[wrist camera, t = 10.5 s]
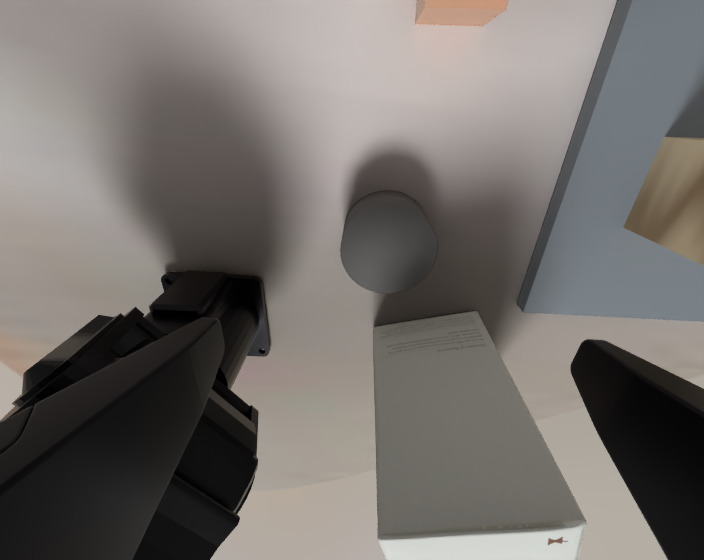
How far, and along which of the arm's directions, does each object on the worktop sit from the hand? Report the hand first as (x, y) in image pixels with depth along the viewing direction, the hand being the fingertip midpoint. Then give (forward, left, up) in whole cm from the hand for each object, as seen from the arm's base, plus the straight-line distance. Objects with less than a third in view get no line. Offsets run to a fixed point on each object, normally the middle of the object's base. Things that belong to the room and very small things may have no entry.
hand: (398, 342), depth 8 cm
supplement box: (-11, -4, -12) cm, 17 cm away
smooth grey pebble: (-1, 0, -12) cm, 12 cm away
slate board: (+2, -15, -12) cm, 20 cm away
